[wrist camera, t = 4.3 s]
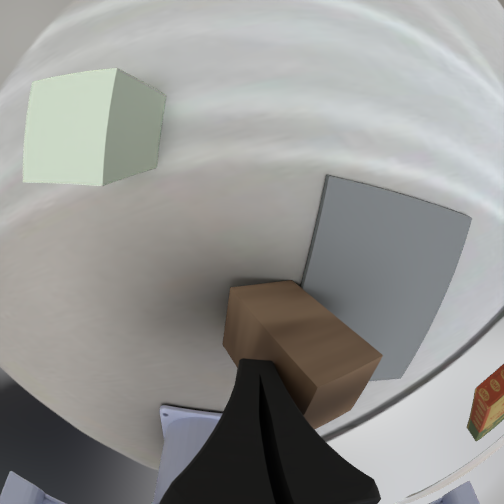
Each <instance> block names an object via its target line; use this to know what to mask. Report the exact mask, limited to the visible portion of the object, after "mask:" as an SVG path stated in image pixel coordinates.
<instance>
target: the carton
mask: <svg viewBox="0 0 504 504" xmlns="http://www.w3.org/2000/svg"><path fill="white" fill-rule="evenodd" d="M503 419H504V364H503V365H502V366H501V367H500V368H498V369H497V370H496V371H495V372H494V373H493V374H491V375H490V376H489V377H488V378H487V379H486V380H484V381H483V382H482V383H481V384H480V385H479V386H478V387H477V388H476V389H475V393H474V399H473V404H472V409H471V413H470V418H469V421H468V424H467V428H468V430H469V431H470V433H471V434H472V436H473V438H474V439H475V441H478V440H479V439H481V438H482V437H483V436H484V435H486V434H487V433H488V432H489V431H491V430H492V429H493V428H494V427H496V426H497V425H498V424H499V423H500V422H501V421H502V420H503Z"/></svg>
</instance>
